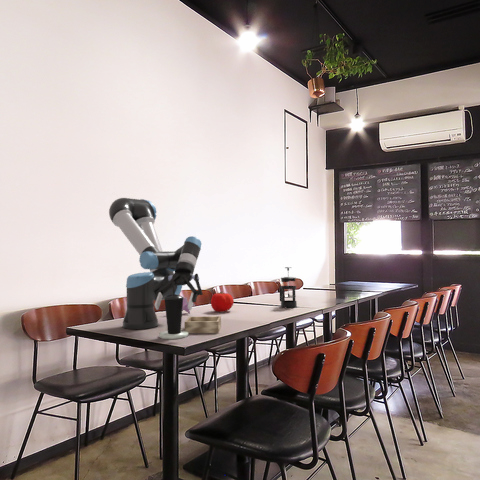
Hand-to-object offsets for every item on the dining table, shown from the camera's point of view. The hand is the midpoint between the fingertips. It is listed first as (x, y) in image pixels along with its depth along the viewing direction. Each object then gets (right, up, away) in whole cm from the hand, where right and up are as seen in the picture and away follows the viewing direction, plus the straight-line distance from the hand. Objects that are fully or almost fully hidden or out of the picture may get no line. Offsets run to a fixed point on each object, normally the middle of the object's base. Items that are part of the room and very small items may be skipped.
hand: (172, 308), depth 159 cm
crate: (+11, -11, +13) cm, 20 cm away
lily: (-4, -13, +59) cm, 60 cm away
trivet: (0, -11, +1) cm, 11 cm away
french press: (+54, -13, +80) cm, 97 cm away
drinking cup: (0, -10, +1) cm, 10 cm away
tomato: (+16, -13, +65) cm, 69 cm away
